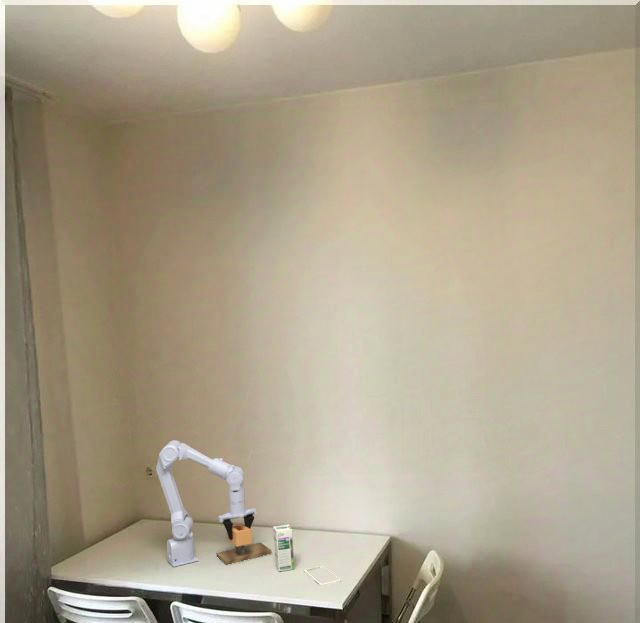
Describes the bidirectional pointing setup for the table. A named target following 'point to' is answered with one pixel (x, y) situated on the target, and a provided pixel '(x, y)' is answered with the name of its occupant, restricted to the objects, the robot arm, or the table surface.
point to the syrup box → (283, 547)
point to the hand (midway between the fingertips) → (239, 537)
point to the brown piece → (243, 553)
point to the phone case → (326, 570)
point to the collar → (240, 535)
